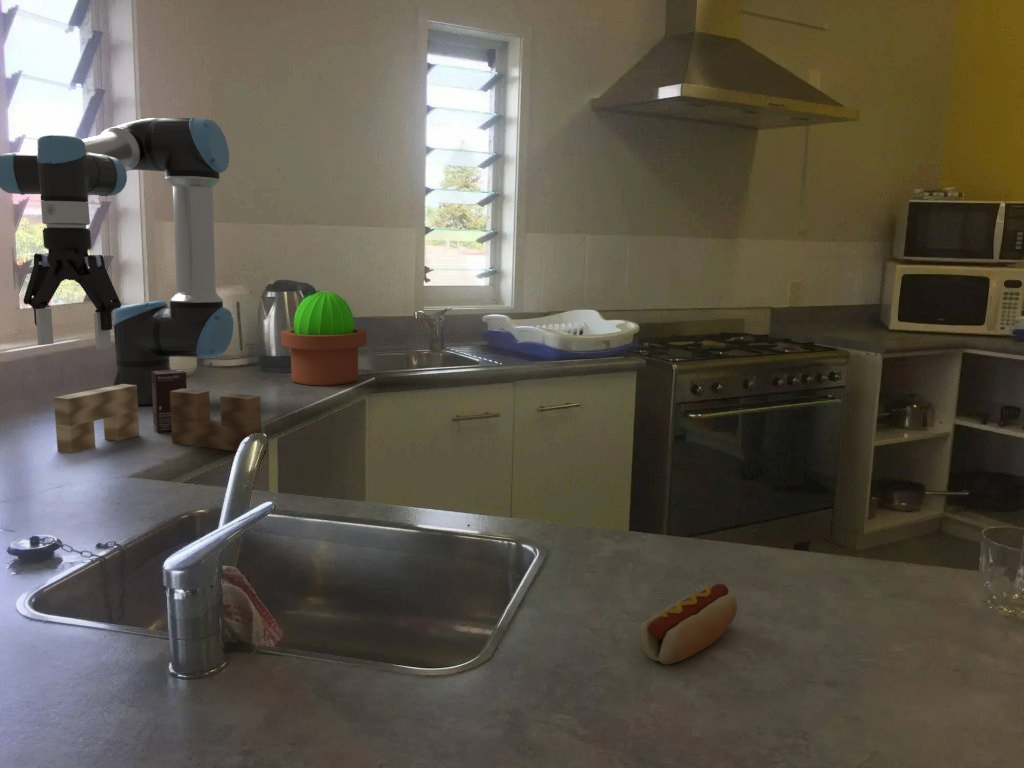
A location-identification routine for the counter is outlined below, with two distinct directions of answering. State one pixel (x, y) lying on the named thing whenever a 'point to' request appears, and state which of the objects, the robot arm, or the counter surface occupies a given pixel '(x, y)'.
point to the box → (165, 396)
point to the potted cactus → (324, 341)
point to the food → (688, 624)
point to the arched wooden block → (95, 416)
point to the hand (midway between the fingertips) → (74, 346)
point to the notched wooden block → (202, 431)
